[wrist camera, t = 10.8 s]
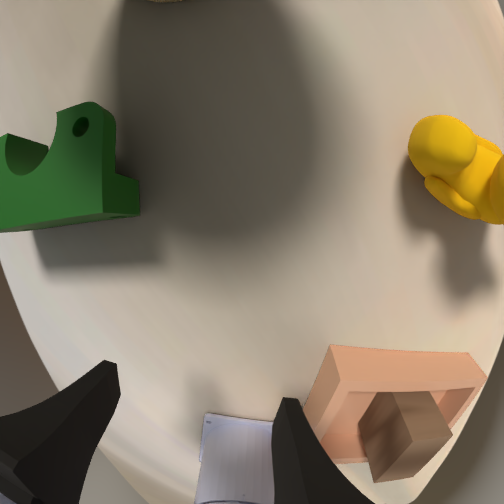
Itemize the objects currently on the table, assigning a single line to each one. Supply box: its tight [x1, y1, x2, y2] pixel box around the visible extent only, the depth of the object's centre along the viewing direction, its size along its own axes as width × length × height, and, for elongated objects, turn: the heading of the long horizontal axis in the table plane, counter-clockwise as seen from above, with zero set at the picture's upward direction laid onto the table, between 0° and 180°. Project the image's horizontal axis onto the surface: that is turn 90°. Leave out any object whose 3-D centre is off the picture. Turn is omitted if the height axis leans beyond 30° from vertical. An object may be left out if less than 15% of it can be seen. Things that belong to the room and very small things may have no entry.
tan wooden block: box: [358, 391, 453, 483], centre depth 19 cm, size 6×4×7 cm, turn 169°
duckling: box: [408, 115, 504, 225], centre depth 12 cm, size 11×5×10 cm, turn 69°
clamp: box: [0, 102, 140, 233], centre depth 15 cm, size 12×6×9 cm, turn 88°
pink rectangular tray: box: [303, 345, 488, 464], centre depth 21 cm, size 11×15×4 cm
